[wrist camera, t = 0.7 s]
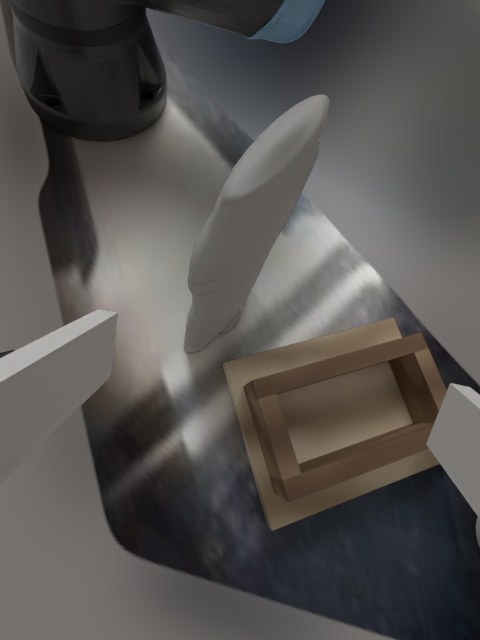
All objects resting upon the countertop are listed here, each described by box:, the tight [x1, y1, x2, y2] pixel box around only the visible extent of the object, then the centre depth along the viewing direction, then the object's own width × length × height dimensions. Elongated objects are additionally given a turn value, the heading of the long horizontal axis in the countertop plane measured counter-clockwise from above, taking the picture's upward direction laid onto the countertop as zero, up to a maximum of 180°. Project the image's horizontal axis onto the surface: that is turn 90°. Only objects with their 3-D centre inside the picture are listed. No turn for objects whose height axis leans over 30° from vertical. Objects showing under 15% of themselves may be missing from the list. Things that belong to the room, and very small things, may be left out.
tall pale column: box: [184, 95, 330, 353], centre depth 24 cm, size 11×4×22 cm, turn 144°
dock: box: [222, 318, 447, 531], centre depth 31 cm, size 14×18×6 cm
